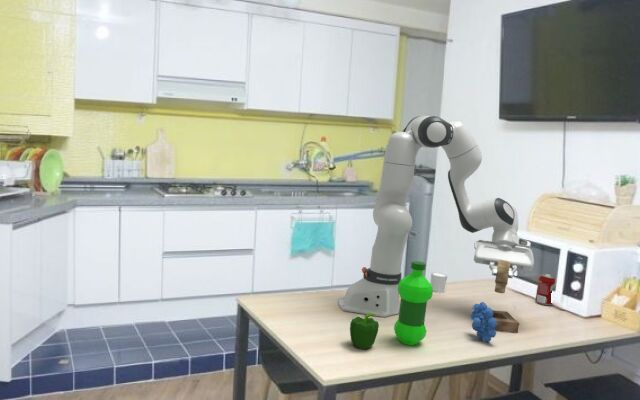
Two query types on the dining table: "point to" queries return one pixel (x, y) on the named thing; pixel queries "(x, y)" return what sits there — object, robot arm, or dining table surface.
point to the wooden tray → (505, 322)
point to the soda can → (545, 289)
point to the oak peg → (502, 276)
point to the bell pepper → (363, 331)
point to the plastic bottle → (413, 305)
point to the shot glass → (438, 282)
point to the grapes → (483, 321)
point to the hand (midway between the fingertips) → (502, 276)
